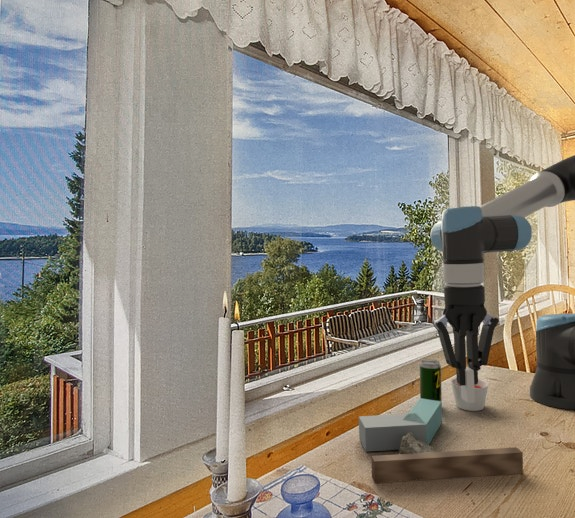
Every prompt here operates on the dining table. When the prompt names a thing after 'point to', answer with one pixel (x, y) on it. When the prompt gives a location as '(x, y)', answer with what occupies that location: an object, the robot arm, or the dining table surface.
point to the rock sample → (414, 445)
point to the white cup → (480, 396)
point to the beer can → (430, 380)
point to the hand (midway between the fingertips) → (468, 400)
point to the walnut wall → (447, 464)
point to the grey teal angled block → (400, 426)
